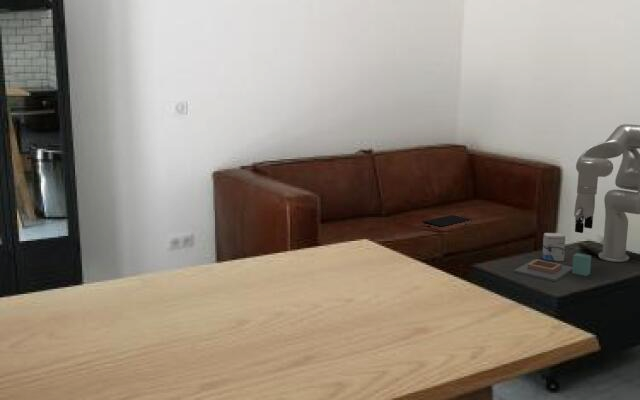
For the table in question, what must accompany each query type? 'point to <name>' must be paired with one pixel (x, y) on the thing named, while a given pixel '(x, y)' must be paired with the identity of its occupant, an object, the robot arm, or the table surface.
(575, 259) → the block
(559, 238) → the ink box
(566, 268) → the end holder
